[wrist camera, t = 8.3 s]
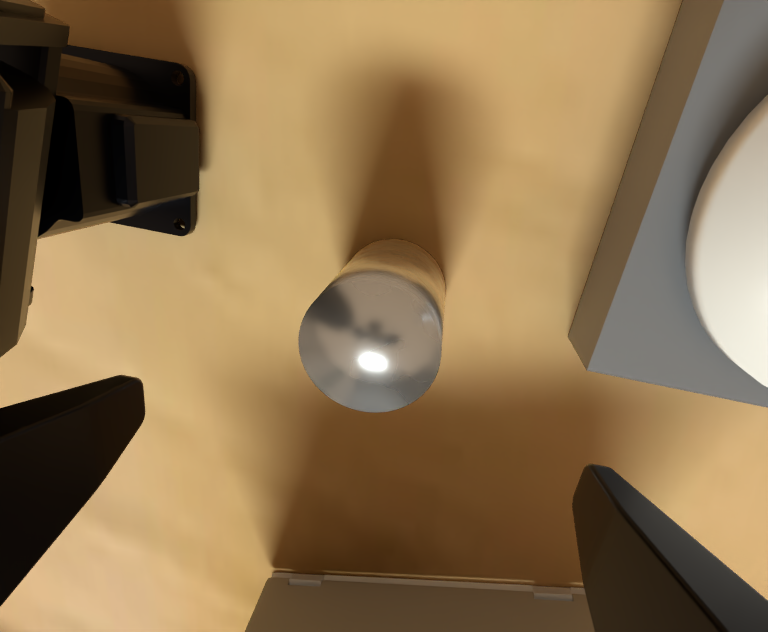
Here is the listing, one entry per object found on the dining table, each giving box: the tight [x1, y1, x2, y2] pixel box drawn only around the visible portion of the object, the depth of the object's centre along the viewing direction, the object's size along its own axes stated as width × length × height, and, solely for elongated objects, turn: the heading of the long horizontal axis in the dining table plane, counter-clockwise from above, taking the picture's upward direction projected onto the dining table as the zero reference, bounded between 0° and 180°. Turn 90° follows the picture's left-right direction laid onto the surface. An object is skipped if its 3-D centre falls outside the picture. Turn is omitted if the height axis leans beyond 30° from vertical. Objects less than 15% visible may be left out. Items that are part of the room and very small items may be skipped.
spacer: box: [299, 239, 445, 413], centre depth 17 cm, size 4×4×6 cm
